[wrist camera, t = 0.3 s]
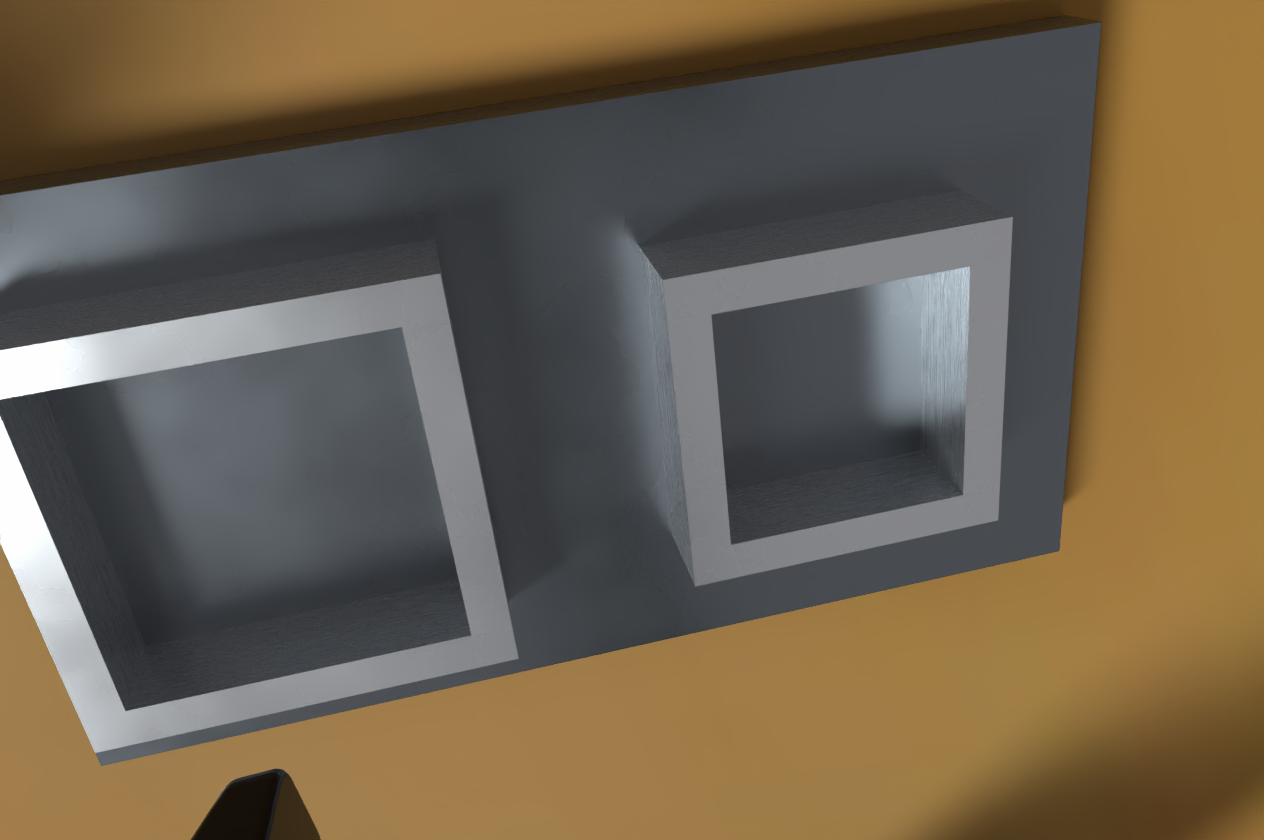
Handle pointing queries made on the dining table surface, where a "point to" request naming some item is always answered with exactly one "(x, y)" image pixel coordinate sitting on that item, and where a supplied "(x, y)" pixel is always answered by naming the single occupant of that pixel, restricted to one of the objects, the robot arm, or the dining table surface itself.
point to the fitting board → (538, 376)
